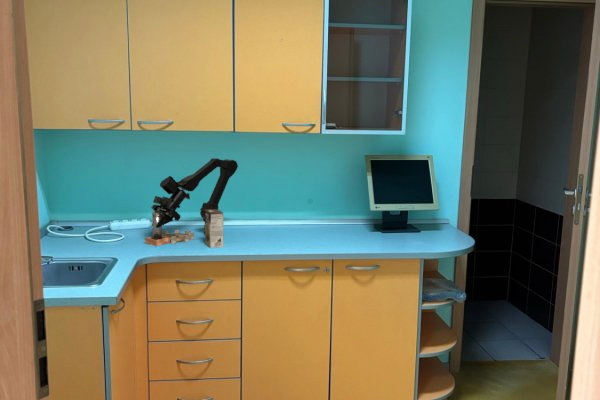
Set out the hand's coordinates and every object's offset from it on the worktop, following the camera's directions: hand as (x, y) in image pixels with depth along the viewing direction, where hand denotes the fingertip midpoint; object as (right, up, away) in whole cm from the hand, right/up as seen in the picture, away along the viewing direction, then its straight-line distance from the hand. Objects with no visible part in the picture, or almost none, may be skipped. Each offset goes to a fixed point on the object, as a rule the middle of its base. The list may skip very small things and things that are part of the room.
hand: (154, 226), depth 269 cm
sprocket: (+6, -7, +8) cm, 12 cm away
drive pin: (+1, -6, +2) cm, 7 cm away
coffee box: (+28, -9, -1) cm, 29 cm away
